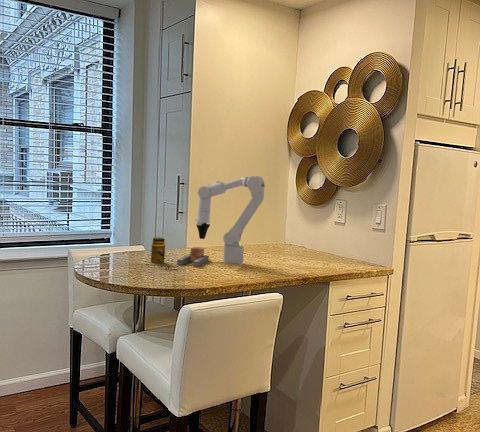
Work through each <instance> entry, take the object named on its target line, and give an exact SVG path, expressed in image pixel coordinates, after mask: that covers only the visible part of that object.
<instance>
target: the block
mask: <svg viewBox="0 0 480 432" xmlns="http://www.w3.org/2000/svg"><path fill="white" fill-rule="evenodd" d="M204 253H205V247H199V246H193V247H191V248H190V254H191V256H190V262H191V261H195V260H197V259H199V258H201V257H202V256H204V255H205V254H204Z"/></svg>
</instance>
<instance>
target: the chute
mask: <svg viewBox="0 0 480 432" xmlns="http://www.w3.org/2000/svg"><path fill="white" fill-rule="evenodd" d="M190 256H191V253H188V254H186V255H184V256H182V257H179V258H177V261H176V265H177V266H186V267H188V266H189V267H193V268H199V267H201V266H202V265H203V264H205V263H207V262H208V261H209V257H210V256H209V255H208V254H204V256H202V257H201V258H199V259H197V260H195V261H190Z"/></svg>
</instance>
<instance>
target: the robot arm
mask: <svg viewBox="0 0 480 432" xmlns="http://www.w3.org/2000/svg"><path fill="white" fill-rule="evenodd" d="M238 187H244V188H247V189H248V190H249V192H250V194H251V199H250V200H249V202H248V203H247V205H246V207H245V208H244V210H243V212H241V214H240V216H239V217H238V218H237V220H236V222H235V223H234V225H233V226H232V227H231V228H230V229H229V231H227V232H226V233H224V235H223V237H222V239H223V242H224V243H223V244H224V245H223V259H222V261H223V262H224V263H227V264H236V265H238V266H241V265H243V264H244V254H245V252H244V251H245V249H244V246H243V245H240V243H239V242H240V241H241V238H242V234H243V233H244V230H245V228H246V226H247V225H248V224H249V222H250V221H251V219H252V217H254V214H255V213H256V211H257V210H258V208H259V207H260V206H261V205H262V203H263V201H264V198H265V187H266V184H265V182H264V179H263V178H262V177H261V176H259V175H257V176H255V175H253V176H252V175H251V176H245V177H240V178H237V179H235V180H231V181H228V182H223V181H219V180H218V181H216V182H215V183H212V184H210V183H208V184H207V185H206V186H205V185H203V186H201V187H199V188H198V191H197V194H198V197H199V199H198V212H197V218H196V219H195V220H194V221H196V228H197V230H198V236H199V239H200V240H205V238H206V236H207V233H208V229H209V228H210V226H211V224H210V221H211V219H210V218H211V217H210V216H211V206H212V205H211V201H212V197H215V196H219V195H222V194H223V195H224V194H226V193H227V191H228V190H231V189H235V188H238Z"/></svg>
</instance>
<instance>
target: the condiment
mask: <svg viewBox="0 0 480 432" xmlns="http://www.w3.org/2000/svg"><path fill="white" fill-rule="evenodd" d="M165 242H166V241H165V238H164V237H153V238H152V243H151V248H150V249H151V250H150V251H151V254H150V263H151V264H150V265H149V263H146V264H145V266H152V267H153V266H154V267H156V265H157V267H160V265H161V264H162V265H163V264H164V263H165V257H166V256H165V253H166V243H165Z"/></svg>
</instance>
